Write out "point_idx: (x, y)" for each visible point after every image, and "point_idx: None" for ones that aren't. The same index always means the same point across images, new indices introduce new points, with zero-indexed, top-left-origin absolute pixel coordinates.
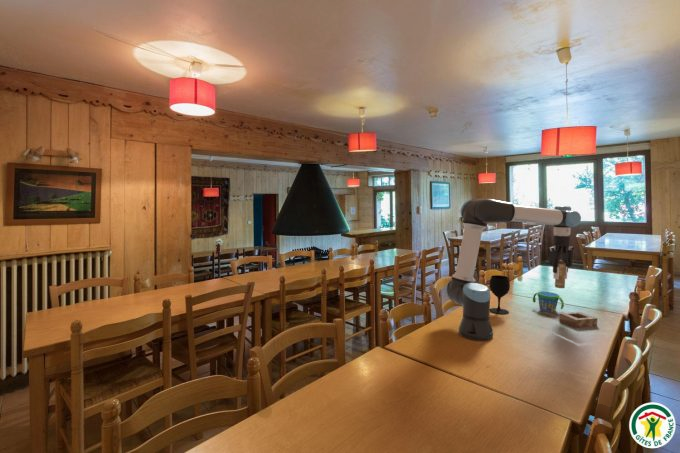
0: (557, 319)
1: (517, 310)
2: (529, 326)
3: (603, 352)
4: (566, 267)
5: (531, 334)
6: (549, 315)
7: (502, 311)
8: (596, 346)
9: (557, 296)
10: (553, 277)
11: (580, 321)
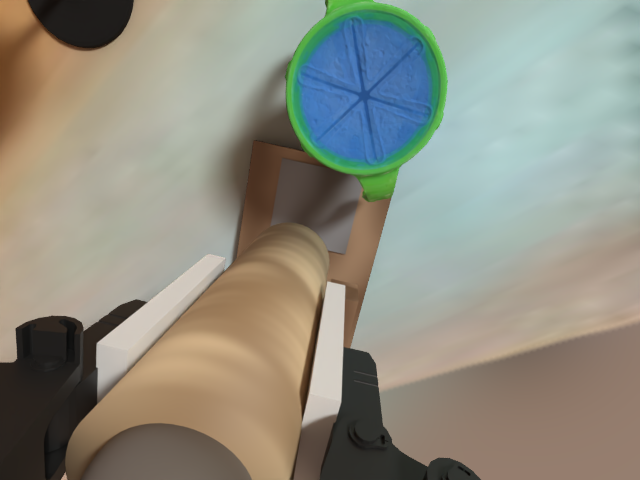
0: None
1: (204, 16)
2: (82, 231)
3: None
4: (296, 470)
5: (29, 292)
6: (271, 186)
7: (78, 14)
8: None
9: (367, 174)
10: (202, 259)
11: None
